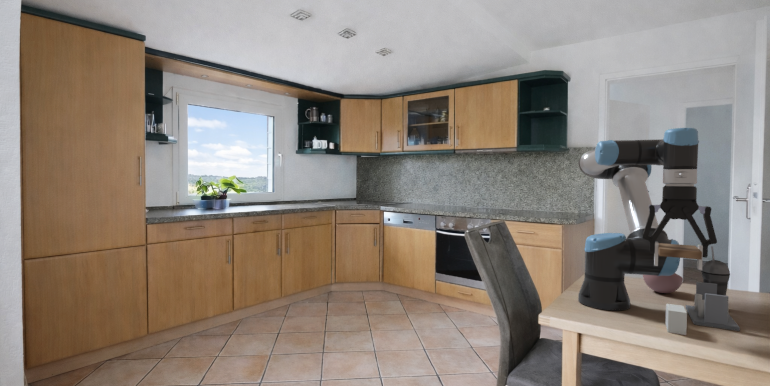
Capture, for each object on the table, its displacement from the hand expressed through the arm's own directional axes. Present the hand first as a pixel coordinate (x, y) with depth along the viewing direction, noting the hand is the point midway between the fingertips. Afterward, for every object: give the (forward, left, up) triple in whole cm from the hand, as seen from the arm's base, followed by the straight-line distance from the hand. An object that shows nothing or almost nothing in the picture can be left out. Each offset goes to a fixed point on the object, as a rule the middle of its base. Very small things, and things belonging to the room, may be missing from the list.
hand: (677, 267), depth 110 cm
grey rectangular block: (0, 0, -17) cm, 17 cm away
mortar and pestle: (0, +42, -18) cm, 45 cm away
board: (0, 0, +4) cm, 4 cm away
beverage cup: (+13, +29, -18) cm, 36 cm away
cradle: (+10, +16, -17) cm, 26 cm away
